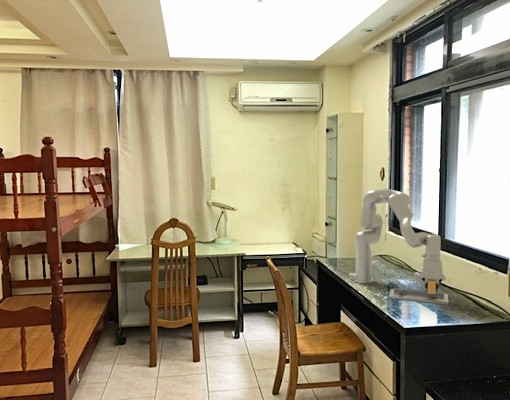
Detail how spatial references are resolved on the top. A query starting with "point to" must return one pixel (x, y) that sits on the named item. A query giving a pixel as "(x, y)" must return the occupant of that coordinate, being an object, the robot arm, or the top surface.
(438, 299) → the hole plate
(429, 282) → the block
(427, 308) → the top surface
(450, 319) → the top surface
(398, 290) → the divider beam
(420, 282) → the grey curved piece
